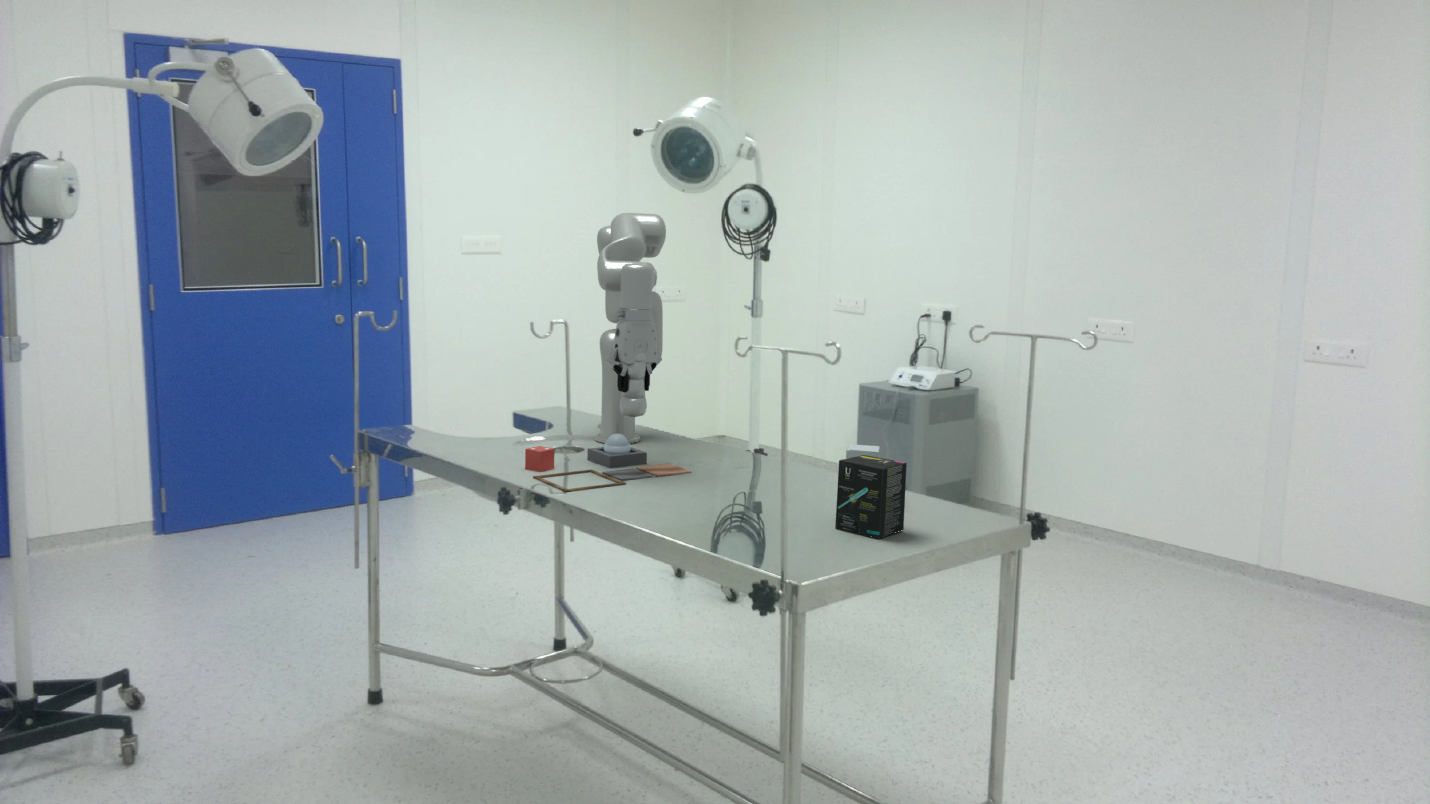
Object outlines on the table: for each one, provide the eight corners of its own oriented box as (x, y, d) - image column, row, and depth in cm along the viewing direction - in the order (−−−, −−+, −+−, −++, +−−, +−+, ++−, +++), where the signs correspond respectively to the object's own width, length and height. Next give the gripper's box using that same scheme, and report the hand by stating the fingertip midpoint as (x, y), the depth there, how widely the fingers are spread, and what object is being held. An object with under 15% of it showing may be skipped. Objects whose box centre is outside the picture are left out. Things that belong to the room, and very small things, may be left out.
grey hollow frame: (587, 459, 274) (587, 448, 274) (623, 455, 281) (624, 444, 280) (609, 468, 266) (609, 456, 265) (646, 463, 272) (646, 452, 272)
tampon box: (904, 531, 218) (908, 462, 216) (879, 540, 211) (883, 468, 209) (859, 521, 225) (863, 453, 223) (834, 528, 218) (838, 459, 216)
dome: (598, 455, 274) (599, 432, 273) (621, 453, 278) (621, 430, 277) (612, 460, 268) (613, 437, 267) (635, 457, 272) (635, 434, 272)
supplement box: (875, 507, 237) (878, 451, 235) (842, 504, 238) (845, 449, 237) (877, 499, 244) (880, 445, 242) (844, 496, 246) (848, 443, 244)
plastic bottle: (633, 420, 253) (636, 336, 250) (613, 416, 257) (615, 333, 254) (652, 417, 258) (654, 334, 255) (631, 412, 262) (634, 332, 259)
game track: (532, 477, 253) (532, 476, 252) (662, 462, 275) (662, 461, 274) (565, 492, 240) (565, 490, 240) (698, 475, 262) (698, 473, 262)
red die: (525, 468, 262) (525, 448, 261) (539, 465, 266) (539, 445, 265) (540, 471, 259) (540, 451, 258) (554, 468, 263) (554, 448, 262)
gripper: (612, 318, 246) (610, 395, 249) (674, 316, 256) (671, 391, 259) (596, 315, 252) (594, 390, 255) (657, 313, 262) (655, 386, 265)
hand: (633, 390), depth 257 cm, fingers closed on plastic bottle, 5 cm apart
